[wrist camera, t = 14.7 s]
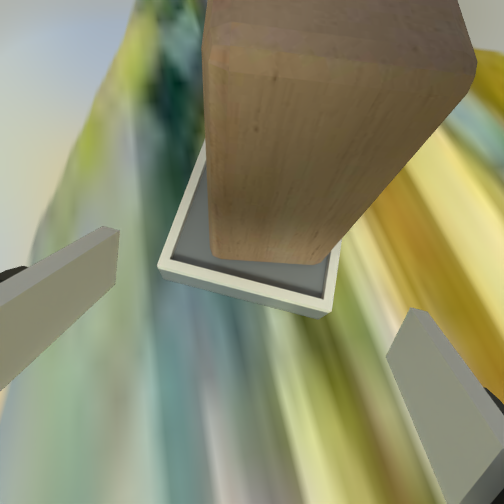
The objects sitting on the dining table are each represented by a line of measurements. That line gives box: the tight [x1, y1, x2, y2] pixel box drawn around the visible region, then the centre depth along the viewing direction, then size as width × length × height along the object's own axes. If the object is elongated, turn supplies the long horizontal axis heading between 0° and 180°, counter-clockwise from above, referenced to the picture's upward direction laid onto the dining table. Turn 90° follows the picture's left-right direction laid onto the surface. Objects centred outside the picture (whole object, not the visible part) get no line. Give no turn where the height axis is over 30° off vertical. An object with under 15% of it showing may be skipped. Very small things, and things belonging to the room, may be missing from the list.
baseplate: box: [157, 140, 342, 319], centre depth 32 cm, size 15×15×4 cm
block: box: [202, 0, 477, 265], centre depth 22 cm, size 10×10×20 cm
